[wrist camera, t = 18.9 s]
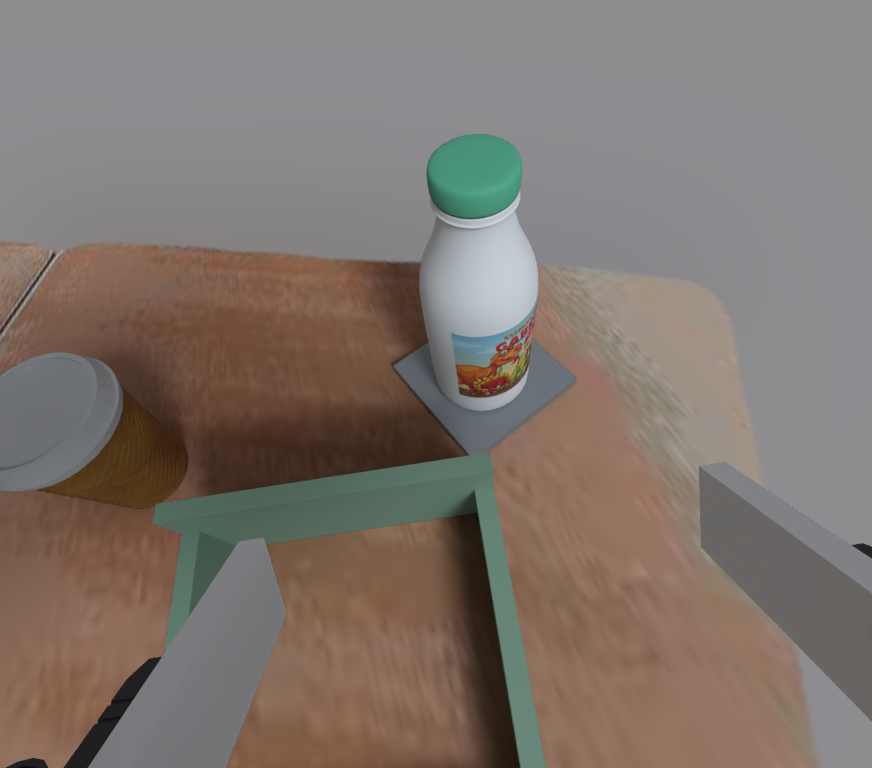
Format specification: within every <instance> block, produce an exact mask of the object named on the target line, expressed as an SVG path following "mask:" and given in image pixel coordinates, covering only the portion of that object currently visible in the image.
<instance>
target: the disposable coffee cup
mask: <svg viewBox="0 0 872 768" xmlns="http://www.w3.org/2000/svg"><path fill="white" fill-rule="evenodd" d="M187 463H188V458H187V453H186V450H185V448H184V447H183V445H182V444H181V443H180V442H179V441H178V440H177V439H176V438H174V437H173V436H172V435H171V434H170V433H169V432H168V431H167V430H166V429H165V428H164V427H163V426H162V425H161V424H160V423H159V422H158V421H157V420H156V419H155V418H154V417H153V416H152V415H151V414H150V413H149V412H147V411H146V410H145V409H144V408H143V407H142V406H141V405H140V404H139V403H138V402H137V401H136V400H135V399H134V398H133V397H132V396H131V395H130V394H129V393H128V392H127V391H126V390H125V389H123V388H122V387H121V386H120V384H119V382H118V380H117V378H116V375H115V373H114V372H113V371H112V370H111V369H110V368H109V367H108V366H107V365H106V364H105V363H103V362H101V361H99V360H97V359H95V358H91V357H85V356H78V355H75V354H71V353H68V352H52V353H48V354H44V355H40V356H35V357H32V358H30V359H28V360H26V361H24V362H22V363H19V364H17V365H15V366H13V367H12V368H11V369H9V370H8V371H6V372H5V373H3V374H2V375H0V490H2V491H14V492H20V491H25V490H37V491H43V492H47V493H54V494H59V495H64V496H70V497H75V498H81V499H86V500H92V501H97V502H103V503H108V504H113V505H119V506H124V507H129V508H134V509H142V508H148V507H152V506H154V505H156V504H157V503H160V502H162V501H164V500H165V499H167V498H168V497H169V496H170V495H171V494H172V493H173V492H174V491H175V490H176V489H177V487H178V486H179V485H180V483H181V482H182V480H183V477H184V475H185V473H186V469H187Z"/></svg>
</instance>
